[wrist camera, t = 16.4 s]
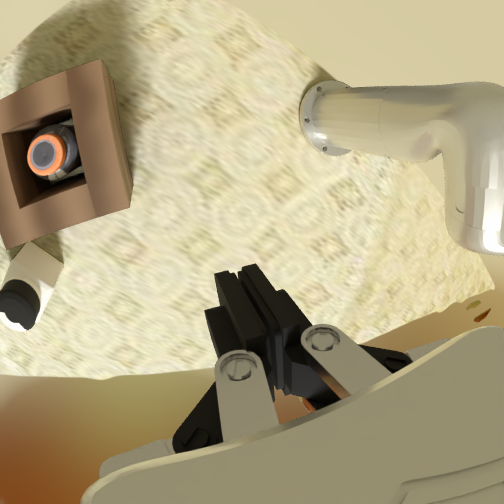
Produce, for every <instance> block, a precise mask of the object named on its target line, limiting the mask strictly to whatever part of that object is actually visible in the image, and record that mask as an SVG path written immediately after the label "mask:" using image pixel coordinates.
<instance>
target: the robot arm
mask: <svg viewBox="0 0 504 504" xmlns="http://www.w3.org/2000/svg"><path fill="white" fill-rule="evenodd" d="M299 118H300V125H301V129H302V132H303V134H304V137H305V138H306V140H307V141H308V143H309V144H310V145H311V146H312V147H313V148H314V149H316V150H317V151H318V152H321V153H323V154H326V155H330V156H341V155H344V154H347V153H349V152H350V151H352V150H354V151H359V152H364V153H368V154H373V155H377V156H382V157H386V158H390V159H394V160H398V161H402V162H406V163H412V164H419V163H423V162H427V161H429V160H431V159H433V158H434V157H436V156H437V155H438V154H440V153H441V152H442V156H443V166H444V172H445V221H446V227H447V230H448V233H449V235H450V237H451V238H452V240H453V241H454V242H455V243H457V244H458V245H459V246H461V247H462V248H464V249H467V250H469V251H472V252H476V253H481V254H487V255H501V256H504V87H502V86H500V85H498V84H495V83H489V82H465V83H455V84H446V85H431V86H375V87H357V88H351V87H350V86H348V85H347V84H345V83H343V82H340V81H336V80H327V81H322V82H319V83H317V84H315V85H314V86H312V87H311V88H310V89H309V90H308V91H307V92H306V94H305V96H304V98H303V99H302V102H301V106H300V113H299ZM214 276H215V282H216V287H217V293H218V298H219V303H220V306H219V307H215V308H211V309H207V310H204V311H205V316H206V320H207V324H208V328H209V332H210V336H211V339H212V342H213V345H214V348H215V351H216V354H217V357H218V360H217V362H216V364H215V370H214V371H215V380H216V381H215V382H214V383H213V385H212V386H211V387H210V389H209V390H208V391H207V392H206V394H205V395H204V396H203V398H202V399H201V400H200V402H199V403H198V404H197V405H196V407H195V408H194V409H193V411H192V412H191V413H190V414H189V416H188V417H187V418H186V419H185V421H184V422H183V423H182V425H181V426H180V427H179V429H178V430H177V431H176V433H175V434H174V436H173V437H172V438H170V439H168V440H165V441H163V440H162V439H160V440H157V441H155V442H152V443H150V444H147V445H145V446H142V447H139V448H136V449H134V450H131V451H128V452H125V453H122V454H119V455H116V456H113V457H111V458H109V459H107V460H105V462H104V463H103V464H102V465H101V467H100V471H99V474H100V479H99V480H98V481H96V482H95V483H94V484H92V485H91V486H90V487H89V488H88V489H87V490H86V491H85V493H84V495H83V497H82V499H81V502H80V504H504V328H502V327H498V326H485V327H480V328H476V329H473V330H470V331H467V332H465V333H462V334H461V335H458V336H456V337H454V338H453V339H449V338H446V339H442V340H439V341H436V342H432V343H429V344H426V345H423V346H420V347H417V348H413V349H410V350H407V351H406V353H405V354H404V353H402V352H398V351H392V350H386V349H381V348H375V347H369V346H364V345H359V344H356V343H355V342H354V341H353V340H352V339H350V338H349V337H348V336H347V335H346V334H344V333H343V332H342V331H341V330H340V329H338V328H336V327H335V326H332V325H327V324H318V325H314V326H313V325H312V324H311V323H310V321H309V320H308V319H307V318H306V316H305V315H304V314H303V312H302V311H301V310H300V309H299V307H298V306H297V305H296V304H295V302H294V301H293V300H292V298H291V297H290V296H289V295H288V293H287V292H286V291H285V290H283V289H282V290H278V291H276V290H275V289H274V287H273V286H272V285H271V283H270V282H269V281H268V279H267V278H266V276H265V275H264V274H263V272H262V271H261V270H260V268H259V267H258V266H257V264H252V265H247V266H243V267H242V271H238V278H237V276H236V275H235V273H229V271H228V270H227V271H223V272H219V273H215V274H214ZM274 386H275V387H276V389H277V390H278V389H282V390H283V392H284V394H285V396H286V395H289V394H292V395H296V396H299V397H300V400H301V402H302V404H303V405H304V406H305V407H306V408H307V410H308V411H309V412H310V414H307V415H305V416H302V417H300V418H297V419H295V420H292V421H289V422H287V423H284V424H281V425H279V421H278V418H277V414H276V411H275V407H274V404H273V403H274V401H275V396H274Z"/></svg>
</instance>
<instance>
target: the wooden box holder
mask: <svg viewBox="0 0 504 504" xmlns="http://www.w3.org/2000/svg"><path fill="white" fill-rule="evenodd" d="M72 117H73V123H74V128H75V134H76V139H77V143H78V148H79V153H80V157H81V161H82V166H83V170H84V174H82V175H79V176H76V177H73V178H70V179H68V180H65V181H62V182H59V183H57V184H54V185H51V184H50V180H45V179H42V178H40V177H39V176H37V175H36V174H35V173H34V172H33V171H32V170H31V168H30V166H29V164H28V159H27V155H28V150H29V147H30V145H31V142H32V140H33V138H34V137H35V135H36V134H37V133H38V132H39V130H41V129H43V128H44V127H46V126H49V125H53V124H56V123H58V122H61V121H64V120H66V119H69V118H72ZM132 190H133V181H132V177H131V173H130V168H129V164H128V160H127V155H126V150H125V145H124V141H123V135H122V130H121V125H120V120H119V114H118V108H117V102H116V96H115V89H114V83H113V78H112V77H111V75H110V73H109V72H108V70H107V68H106V67H105V65H104V63H103V62H102V60H101V59H99V60H95V61H92V62H89V63H86V64H83V65H80V66H77V67H74V68H71V69H68V70H66V71H63V72H60V73H58V74H55V75H53V76H50V77H48V78H45V79H43V80H40V81H38V82H36V83H34V84H31V85H29V86H27V87H25V88H23V89H21V90H19V91H17V92H15V93H13V94H11V95H9V96H7V97H5V98H3V99H1V100H0V234H1V237H2V239H3V242H4V245H5V247H6V250H8V249H11V248H13V247H16V246H18V245H21V244H23V243H26V242H29V241H31V240H34V239H37V238H39V237H42V236H45V235H47V234H50V233H53V232H56V231H59V230H61V229H64V228H67V227H70V226H73V225H76V224H79V223H82V222H85V221H88V220H91V219H94V218H97V217H100V216H104V215H107V214H110V213H113V212H117V211H120V210H123V209H127V208H130V203H131V196H132Z"/></svg>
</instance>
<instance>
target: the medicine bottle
mask: <svg viewBox="0 0 504 504" xmlns="http://www.w3.org/2000/svg"><path fill="white" fill-rule="evenodd" d="M63 268H64V264H63V263H61V262H60V261H58V260H57V259H55V258H54V257H52V256H51V255H50V254H48V253H47V252H45V251H44V250H42V249H41V248H40V247H38V246H37V245H35V244H34V243H33V242H31V241H29V242H26V243H25V244H24V245H23V246H22V248H21V249H20V250H19V251H18V253H17V254H16V255H15V256H14V258H13V259H12V260H11V263H10V265H9V268H8V271H7V273H6V276H5V278H4V281H3V284H2V287H1V290H0V319H1V320H2V321H3V323H4V324H6V325H7V326H8V327H9V328H11V329H13V330H16V331H27V330H29V329H31V328H32V327H33V326H34V324H35V322H36V323H37V322H38V321H39V319H40V317H41V315H42V313H43V311H44V309H45V307H46V305H47V302H48V300H49V298H50V296H51V294H52V292H53V290H54V288H55V286H56V284H57V281H58V279H59V277H60V274H61V272H62V270H63Z"/></svg>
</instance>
